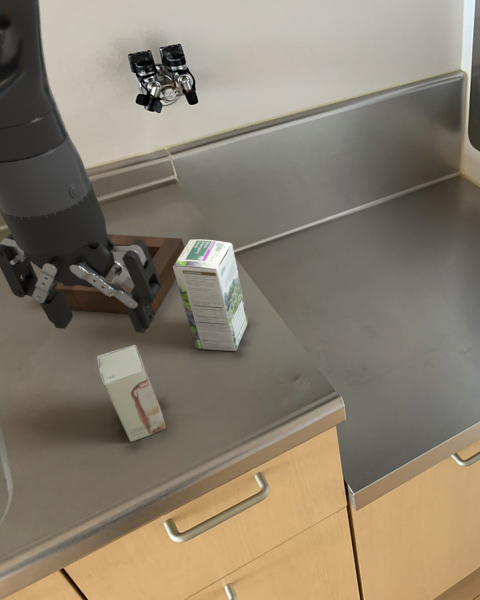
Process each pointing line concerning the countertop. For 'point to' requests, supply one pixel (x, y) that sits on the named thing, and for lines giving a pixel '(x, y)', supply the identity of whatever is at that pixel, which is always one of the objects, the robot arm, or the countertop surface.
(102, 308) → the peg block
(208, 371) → the countertop surface
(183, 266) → the syrup box
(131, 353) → the white product box
